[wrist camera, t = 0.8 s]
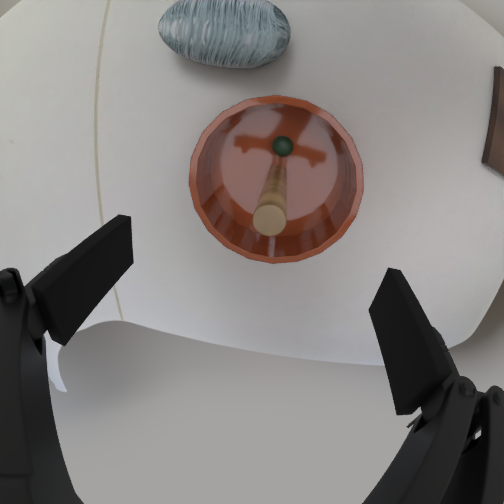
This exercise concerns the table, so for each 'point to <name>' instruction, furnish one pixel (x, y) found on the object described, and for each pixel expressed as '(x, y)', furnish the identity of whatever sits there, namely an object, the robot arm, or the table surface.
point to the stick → (272, 203)
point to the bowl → (256, 169)
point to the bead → (282, 146)
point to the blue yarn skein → (226, 32)
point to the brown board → (496, 126)
